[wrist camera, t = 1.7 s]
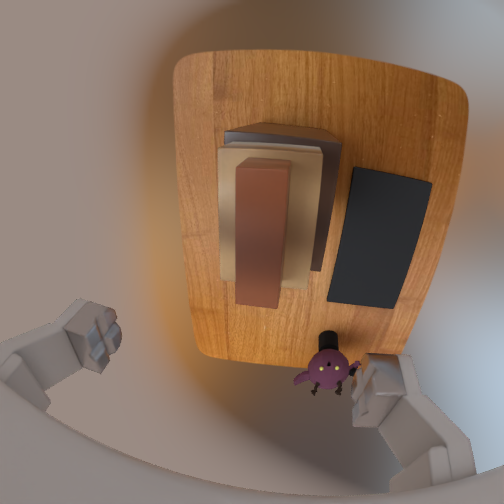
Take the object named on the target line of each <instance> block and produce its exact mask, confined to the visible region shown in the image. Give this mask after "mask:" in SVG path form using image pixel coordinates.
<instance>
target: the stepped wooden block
mask: <svg viewBox="0 0 504 504" xmlns="http://www.w3.org/2000/svg"><path fill="white" fill-rule="evenodd" d="M322 165H323V153H322V151H321V149H320V147H314V146H303V145H292V144H278V143H260V142H230V143H228V144H226V145H223V146H221V147H219V148H218V213H219V251H220V279H221V280H224V281H232V282H235V294H236V304H241V305H249V306H257V307H265V308H273V309H277V308H278V303H279V297H280V291H281V287H284V288H293V289H303V290H307V289H308V282H309V275H310V268H311V261H312V254H313V247H314V239H315V231H316V223H317V214H318V205H319V196H320V186H321V176H322Z"/></svg>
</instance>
